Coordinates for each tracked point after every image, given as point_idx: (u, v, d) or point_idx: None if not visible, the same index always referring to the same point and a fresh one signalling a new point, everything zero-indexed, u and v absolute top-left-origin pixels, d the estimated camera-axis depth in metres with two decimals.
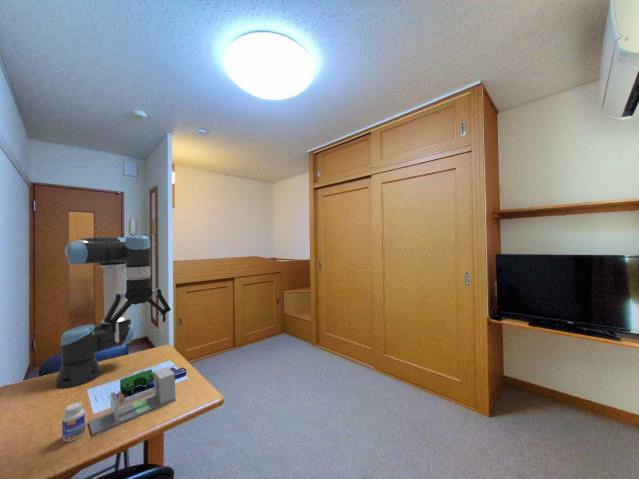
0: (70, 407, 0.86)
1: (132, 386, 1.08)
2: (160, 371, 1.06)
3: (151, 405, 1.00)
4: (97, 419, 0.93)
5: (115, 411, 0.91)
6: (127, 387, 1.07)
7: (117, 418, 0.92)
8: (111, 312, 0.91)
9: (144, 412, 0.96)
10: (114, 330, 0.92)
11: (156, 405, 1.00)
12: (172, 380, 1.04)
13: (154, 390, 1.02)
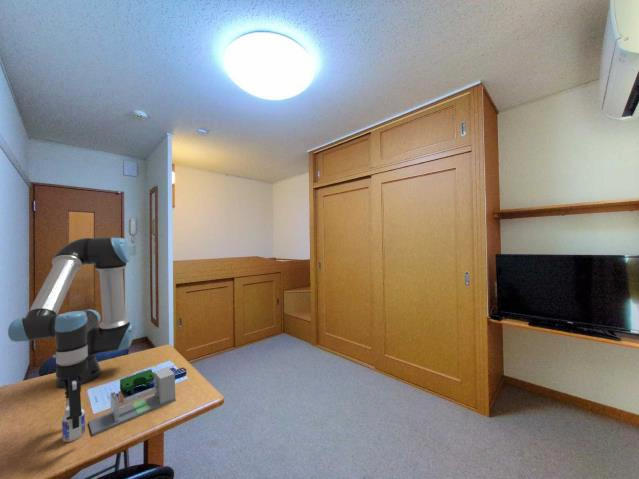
0: None
1: (132, 386, 1.08)
2: (160, 371, 1.06)
3: (151, 405, 1.00)
4: (97, 419, 0.93)
5: (115, 411, 0.91)
6: (127, 387, 1.07)
7: (117, 418, 0.92)
8: None
9: (144, 412, 0.96)
10: None
11: (156, 405, 1.00)
12: (172, 380, 1.04)
13: (154, 390, 1.02)
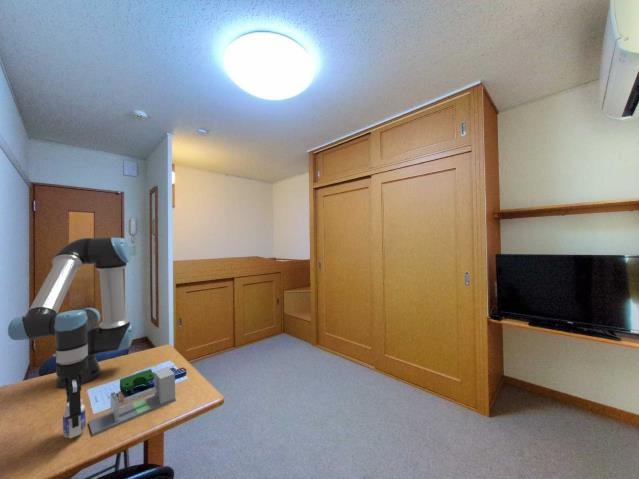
0: None
1: (132, 386, 1.08)
2: (160, 371, 1.06)
3: (151, 405, 1.00)
4: (97, 419, 0.93)
5: (115, 411, 0.91)
6: (127, 387, 1.07)
7: (117, 418, 0.92)
8: None
9: (144, 412, 0.96)
10: None
11: (156, 405, 1.00)
12: (172, 380, 1.04)
13: (154, 390, 1.02)
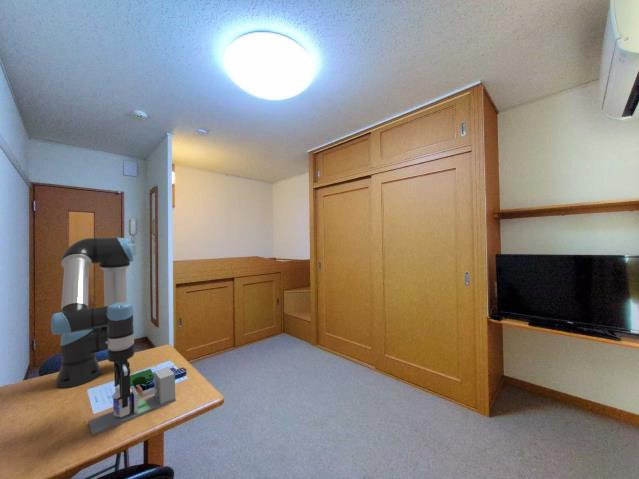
0: None
1: (131, 385, 1.08)
2: (160, 371, 1.06)
3: (151, 405, 1.00)
4: (97, 419, 0.93)
5: (134, 403, 0.95)
6: None
7: (137, 410, 0.96)
8: (114, 376, 0.98)
9: (144, 412, 0.96)
10: None
11: (156, 405, 1.00)
12: (172, 380, 1.04)
13: None
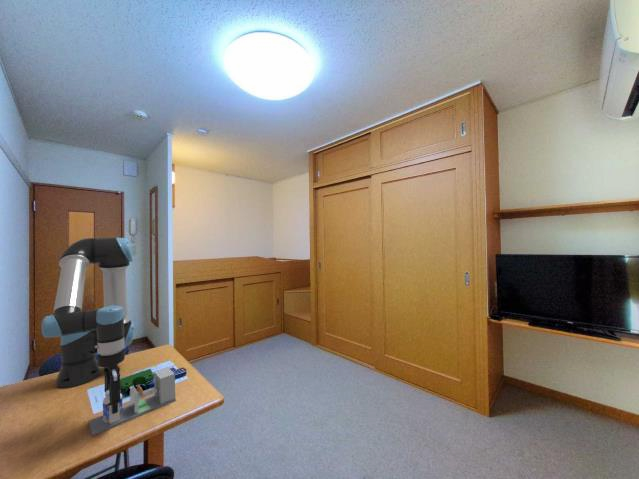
0: None
1: (131, 385, 1.08)
2: (160, 371, 1.06)
3: (151, 405, 1.00)
4: (97, 419, 0.93)
5: (135, 403, 0.95)
6: (126, 386, 1.07)
7: (137, 410, 0.96)
8: None
9: (144, 412, 0.96)
10: None
11: (156, 405, 1.00)
12: (172, 380, 1.04)
13: None
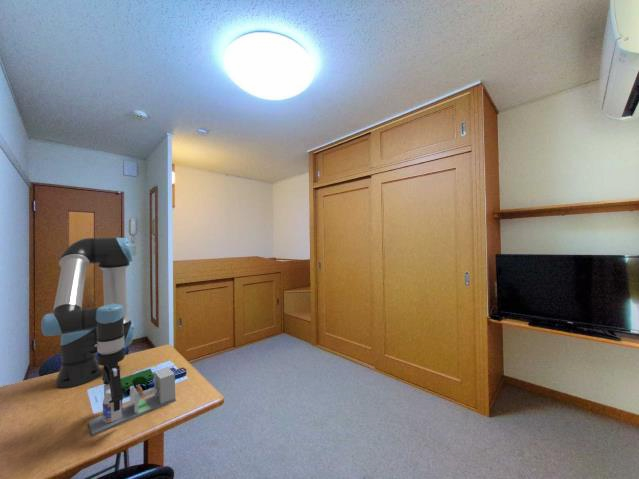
0: (109, 390, 0.93)
1: (131, 385, 1.09)
2: (160, 371, 1.06)
3: (151, 405, 1.00)
4: (97, 419, 0.93)
5: (135, 403, 0.95)
6: (126, 386, 1.07)
7: (137, 410, 0.96)
8: (103, 372, 0.98)
9: (144, 412, 0.96)
10: (106, 390, 0.98)
11: (156, 405, 1.00)
12: (172, 380, 1.04)
13: None
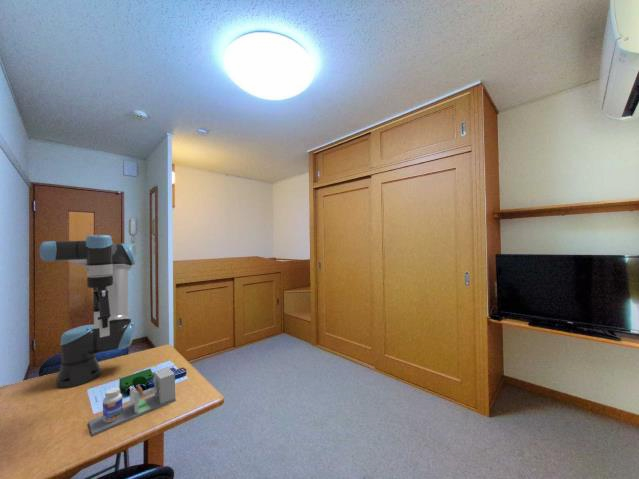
0: (109, 390, 0.93)
1: (131, 385, 1.09)
2: (160, 371, 1.06)
3: (151, 405, 1.00)
4: (97, 419, 0.93)
5: (135, 403, 0.95)
6: (126, 386, 1.07)
7: (137, 410, 0.96)
8: (93, 301, 1.05)
9: (144, 412, 0.96)
10: None
11: (156, 405, 1.00)
12: (172, 380, 1.04)
13: None
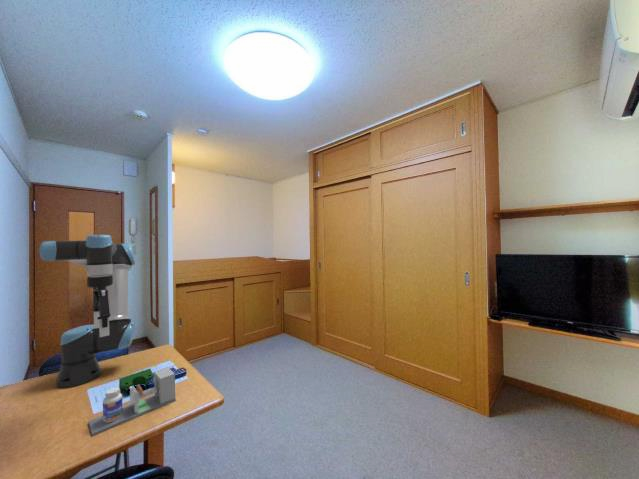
0: (109, 390, 0.93)
1: (131, 385, 1.09)
2: (160, 371, 1.06)
3: (151, 405, 1.00)
4: (97, 419, 0.93)
5: (135, 403, 0.95)
6: (126, 386, 1.08)
7: (137, 410, 0.96)
8: (93, 300, 1.05)
9: (144, 412, 0.96)
10: None
11: (156, 405, 1.00)
12: (172, 380, 1.04)
13: None
